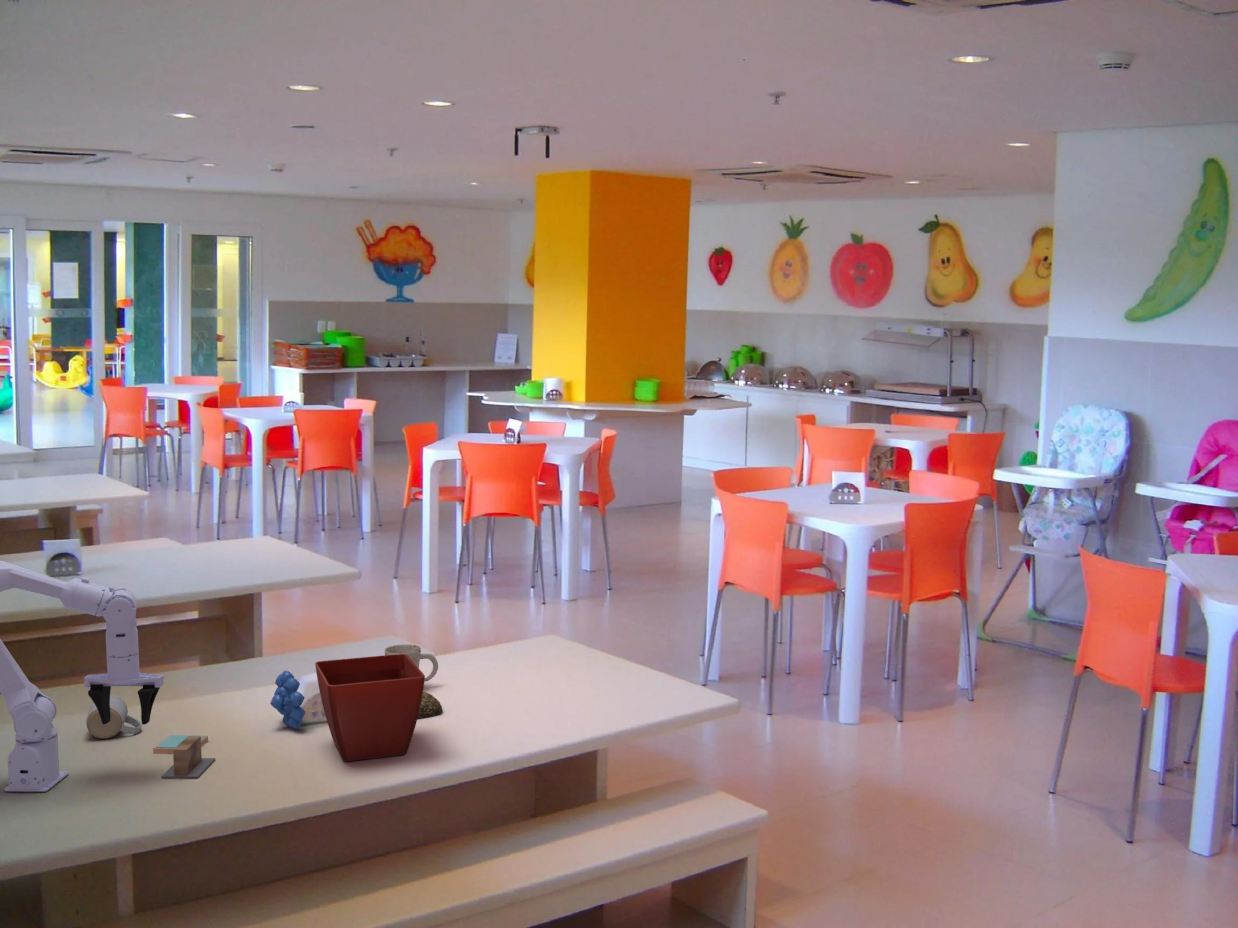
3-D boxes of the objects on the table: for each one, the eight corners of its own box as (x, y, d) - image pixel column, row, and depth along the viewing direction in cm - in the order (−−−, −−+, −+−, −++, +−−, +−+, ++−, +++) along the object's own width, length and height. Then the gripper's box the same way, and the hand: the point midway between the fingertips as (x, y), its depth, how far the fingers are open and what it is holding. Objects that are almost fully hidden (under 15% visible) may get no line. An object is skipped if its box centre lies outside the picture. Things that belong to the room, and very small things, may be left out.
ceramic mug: (85, 742, 261) (84, 706, 260) (90, 729, 268) (89, 694, 268) (140, 738, 264) (139, 702, 263) (143, 725, 271) (142, 691, 271)
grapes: (260, 723, 272) (258, 669, 271) (290, 717, 276) (288, 664, 275) (281, 737, 263) (280, 681, 262) (312, 731, 267) (310, 676, 266)
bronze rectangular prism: (187, 775, 241) (186, 749, 240) (174, 774, 241) (173, 749, 240) (201, 760, 249) (200, 735, 248) (189, 760, 249) (188, 735, 248)
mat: (197, 778, 240) (197, 776, 240) (161, 778, 240) (161, 776, 240) (215, 759, 250) (215, 757, 250) (180, 759, 250) (180, 757, 250)
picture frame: (191, 748, 253) (207, 734, 261) (152, 747, 254) (170, 734, 262) (191, 756, 253) (208, 743, 261) (153, 755, 254) (171, 742, 262)
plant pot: (408, 728, 269) (406, 651, 267) (427, 758, 251) (426, 675, 249) (316, 739, 262) (314, 660, 260) (330, 770, 244) (327, 686, 242)
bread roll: (446, 717, 277) (446, 695, 277) (390, 724, 273) (389, 701, 272) (433, 700, 289) (432, 679, 289) (379, 707, 285) (378, 685, 284)
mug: (381, 687, 298) (380, 646, 297) (433, 681, 304) (432, 640, 302) (390, 697, 291) (389, 655, 290) (443, 690, 296) (442, 648, 295)
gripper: (168, 648, 244) (171, 716, 246) (94, 647, 245) (97, 715, 246) (154, 658, 237) (157, 727, 239) (77, 657, 238) (81, 727, 239)
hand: (126, 722), depth 242 cm, fingers open, 7 cm apart
